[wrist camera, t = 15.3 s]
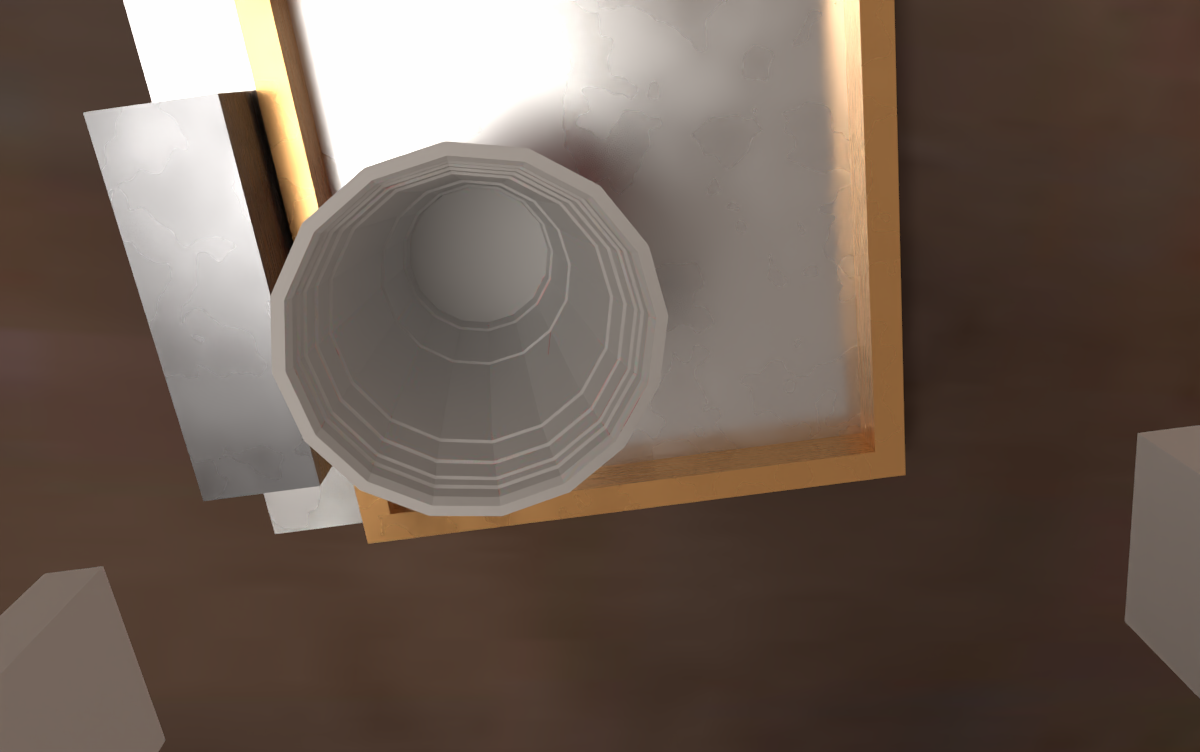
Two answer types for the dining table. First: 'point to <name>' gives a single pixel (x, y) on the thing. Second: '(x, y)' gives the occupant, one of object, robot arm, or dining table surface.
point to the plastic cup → (468, 329)
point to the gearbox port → (579, 143)
